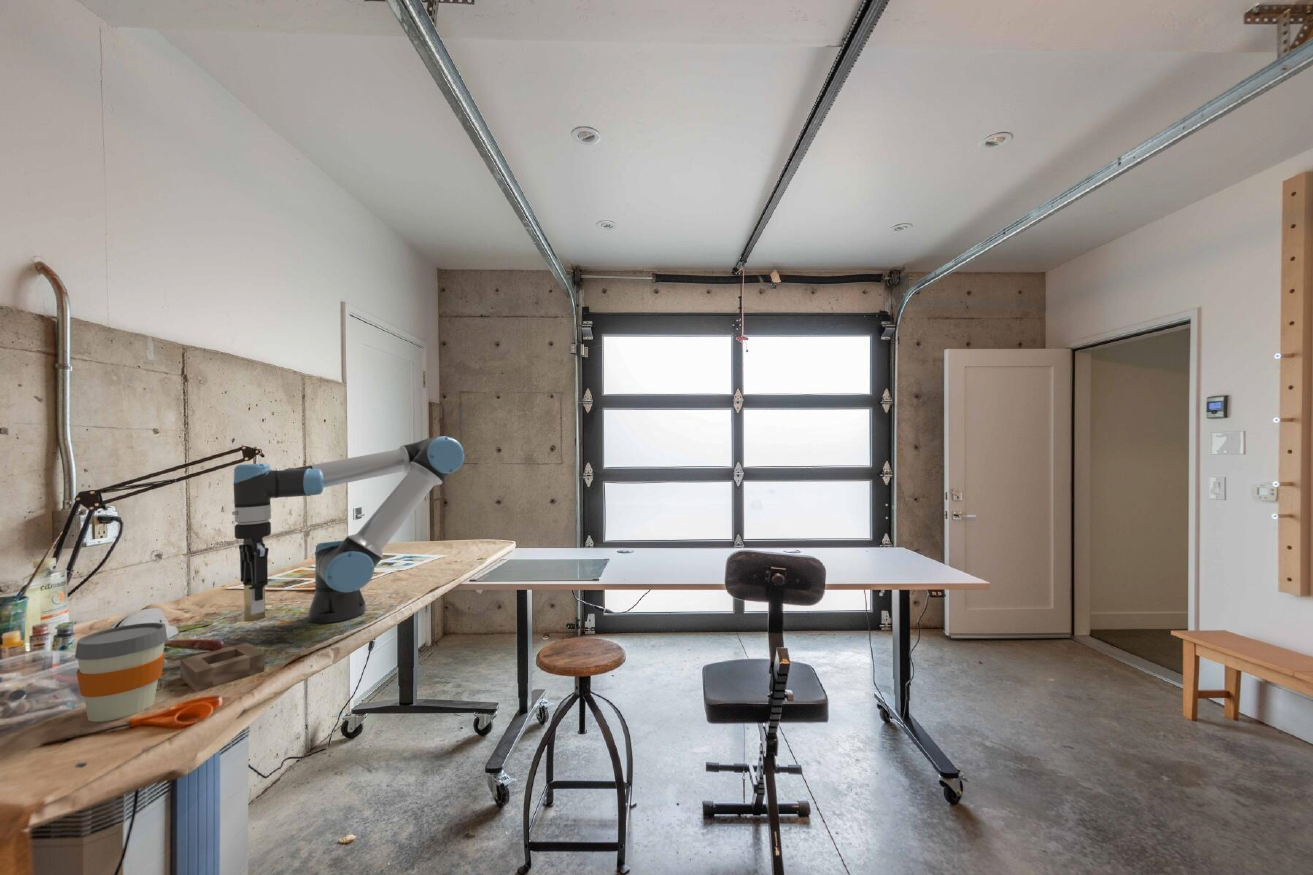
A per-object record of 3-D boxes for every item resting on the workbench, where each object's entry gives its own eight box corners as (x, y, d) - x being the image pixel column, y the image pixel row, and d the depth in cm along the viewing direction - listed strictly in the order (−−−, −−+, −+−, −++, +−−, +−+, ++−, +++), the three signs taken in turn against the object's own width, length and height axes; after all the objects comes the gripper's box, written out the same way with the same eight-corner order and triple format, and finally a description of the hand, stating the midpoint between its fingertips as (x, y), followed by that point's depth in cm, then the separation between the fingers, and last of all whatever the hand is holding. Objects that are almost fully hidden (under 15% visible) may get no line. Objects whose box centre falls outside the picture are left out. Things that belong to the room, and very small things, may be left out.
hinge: (139, 654, 128) (122, 618, 127) (116, 663, 126) (100, 626, 126) (179, 632, 144) (165, 599, 143) (160, 639, 142) (145, 607, 141)
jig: (246, 659, 124) (246, 642, 124) (264, 670, 117) (264, 653, 117) (180, 677, 114) (180, 659, 114) (195, 691, 107) (196, 672, 107)
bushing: (261, 614, 136) (261, 581, 136) (267, 617, 134) (267, 583, 134) (241, 619, 133) (241, 585, 133) (247, 622, 130) (247, 587, 130)
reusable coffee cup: (161, 688, 108) (162, 618, 109) (171, 706, 100) (172, 630, 101) (72, 712, 99) (73, 635, 99) (74, 734, 91) (76, 650, 91)
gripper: (224, 522, 135) (225, 609, 135) (246, 526, 126) (248, 620, 125) (258, 518, 142) (259, 602, 141) (282, 522, 132) (284, 612, 131)
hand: (254, 610), depth 133 cm, fingers closed on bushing, 4 cm apart
